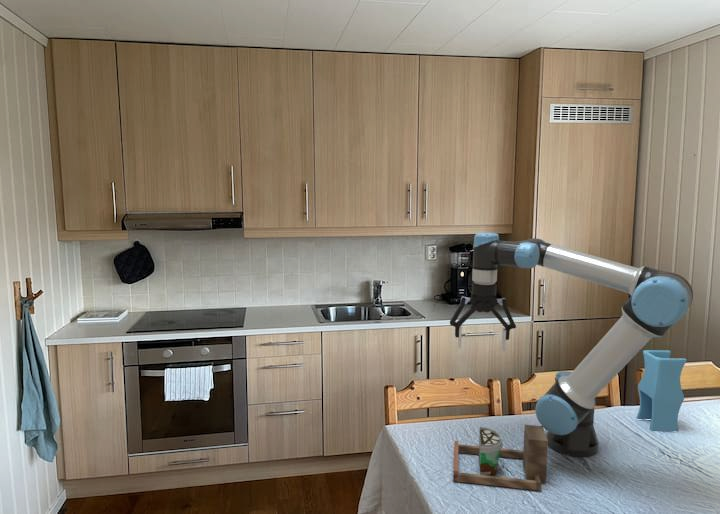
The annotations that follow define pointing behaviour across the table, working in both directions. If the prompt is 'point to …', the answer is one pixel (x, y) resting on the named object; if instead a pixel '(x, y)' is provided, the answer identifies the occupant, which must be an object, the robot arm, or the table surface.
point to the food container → (489, 451)
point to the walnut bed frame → (531, 456)
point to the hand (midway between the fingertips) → (481, 348)
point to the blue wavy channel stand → (661, 390)
